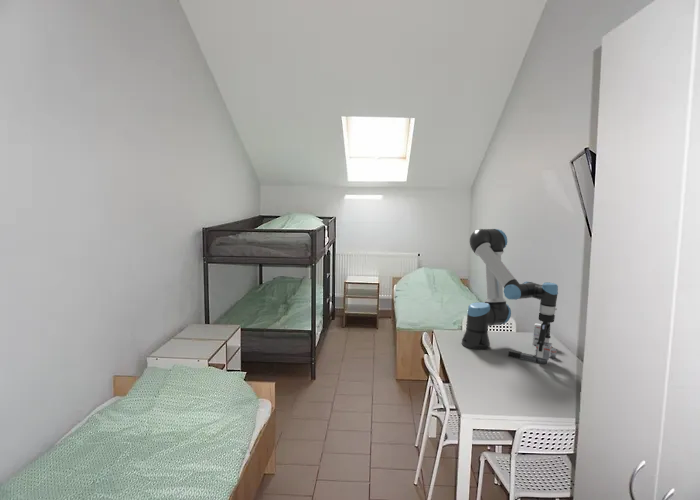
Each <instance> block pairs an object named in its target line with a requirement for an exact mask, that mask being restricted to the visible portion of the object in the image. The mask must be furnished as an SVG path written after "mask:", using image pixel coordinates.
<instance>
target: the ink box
mask: <svg viewBox="0 0 700 500" xmlns="http://www.w3.org/2000/svg"><path fill="white" fill-rule="evenodd" d="M541 324H542V323H537V322H536V323H534V326H533V327H534V329H533V335H532V336H533V337H532V346H537V343H538V340H539V335H540V330H541ZM550 329H551V326H550ZM548 343H550V340H549V341H548Z"/></svg>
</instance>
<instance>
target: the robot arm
mask: <svg viewBox="0 0 700 500" xmlns="http://www.w3.org/2000/svg"><path fill="white" fill-rule="evenodd" d="M507 237H508V236H507V234H506V232H504V231H503V230H502V229H499V228H479V229H475V230H474V231H473V232H472V234H471V235H470V237H469V246H470V249H471V251H473V254H475V255H476V256H478V257H479V258H480V259H481V260H482V262H483V263H484V264H485V274H486V275H485V276H486V277H485V278H486V297H487V298H486V299H485V300H484V302H481V301H480V302H472V303H470V304H469V305H468V309H467V310H466V311H467V312H466V313H467V314H466V327H465V332H464V334H463V337H462V338H461V345H462V346H463V347H466V348H468V349H473V350H488V349H490V346H491V342H490V338H489V333H488V332H489V327H491V326H501V325H504V324H506V323H508V322H509V321H510V319H511V317H512V310H511V307H510V305H508V304H507V300H515V301H516V300H522V299H537V300H539V301H540V302H539V313H538V320H539V321H540V322H542V323H540V324H541V330H540V335H539V340H538V343H537V344H538V352H537V357H541V358H543V352H544V342H548V341H549V342H550V339H551V338H552V337H551V328H550V327H551V323H554V322H555V318H556V315H555V314H556V311H557V310H558V309H557V308H556V307H557V300H558V294H559V285H558V284H557V283H554V282H542V284H539V283H536V282H533V281H524V282H522V283H520V282H519V280H517V279H516V277H515V275H513V274H512V273H511V272H510V270H509V269H508V268H507V266H506V264H504V262H503V261H502V255H503V254H504V253H505V252H504V251H505V250H504V249H505V248H506V247H507V245H508V238H507ZM504 297H505V298H506V299H507V300H506V299H505V298H504Z"/></svg>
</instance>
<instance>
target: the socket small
mask: <svg viewBox="0 0 700 500" xmlns="http://www.w3.org/2000/svg"><path fill="white" fill-rule="evenodd" d="M557 352H558V351H557V348H555V347H552V349H551V357H550V358H549V359H556V358H557Z"/></svg>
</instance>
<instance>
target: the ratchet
mask: <svg viewBox="0 0 700 500" xmlns="http://www.w3.org/2000/svg"><path fill="white" fill-rule="evenodd" d="M535 355H536V354H530V353H527V352H522V351H519V350H514V349H509V350H508V357H509V358H516V359H521V360H525V361H530V362H534V363H537V364H539V365H548V364H549V363H548V361H549V360H547V359H542V358H537V357H535Z"/></svg>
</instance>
